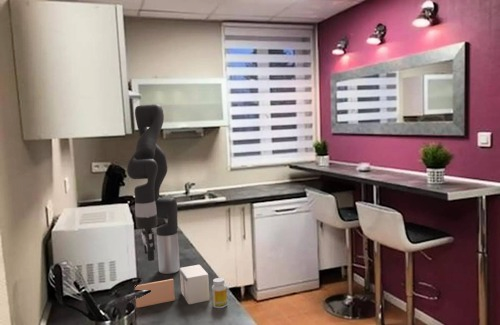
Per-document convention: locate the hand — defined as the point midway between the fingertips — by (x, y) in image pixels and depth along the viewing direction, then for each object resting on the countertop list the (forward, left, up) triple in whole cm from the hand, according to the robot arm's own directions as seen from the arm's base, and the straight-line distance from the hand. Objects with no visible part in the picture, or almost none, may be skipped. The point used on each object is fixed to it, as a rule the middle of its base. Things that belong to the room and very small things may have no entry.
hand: (149, 256), depth 156 cm
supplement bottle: (+14, +22, -18) cm, 31 cm away
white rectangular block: (+2, +16, -18) cm, 24 cm away
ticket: (+2, +1, -17) cm, 18 cm away
